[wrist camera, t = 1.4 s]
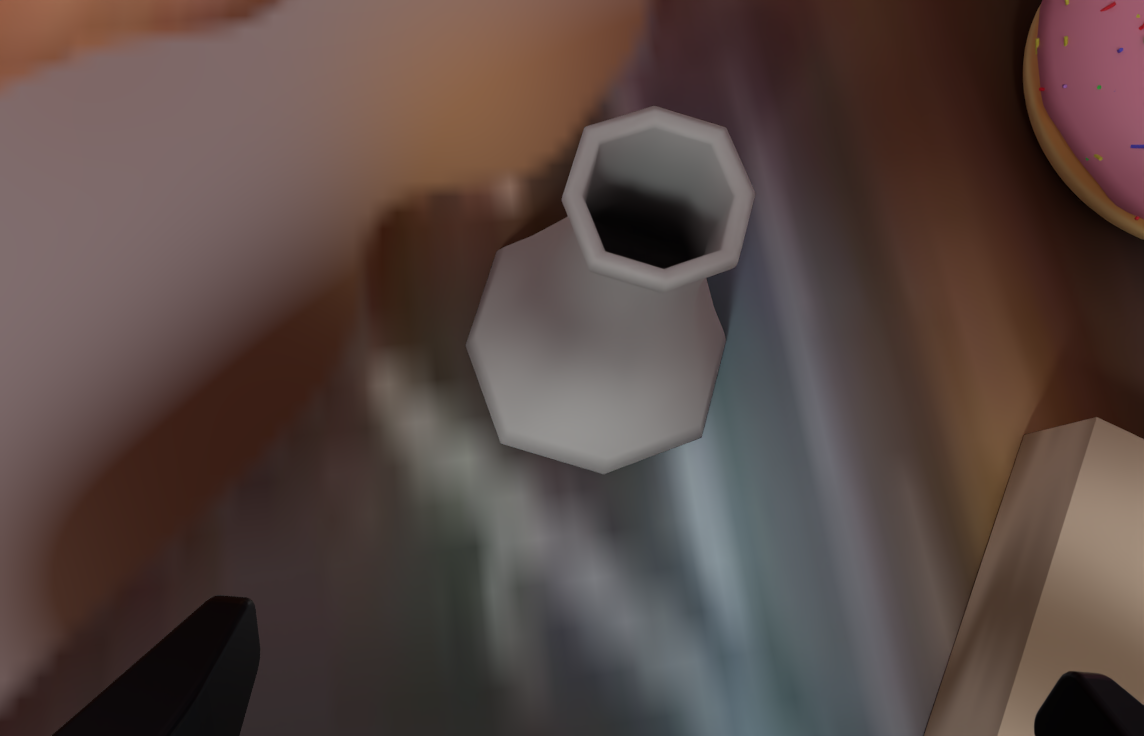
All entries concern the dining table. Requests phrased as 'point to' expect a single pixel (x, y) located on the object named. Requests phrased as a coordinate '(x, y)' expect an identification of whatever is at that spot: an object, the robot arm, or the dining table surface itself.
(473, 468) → the dining table surface
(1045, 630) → the foundation block
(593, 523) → the dining table surface
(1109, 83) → the doughnut
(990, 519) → the dining table surface
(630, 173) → the flask
